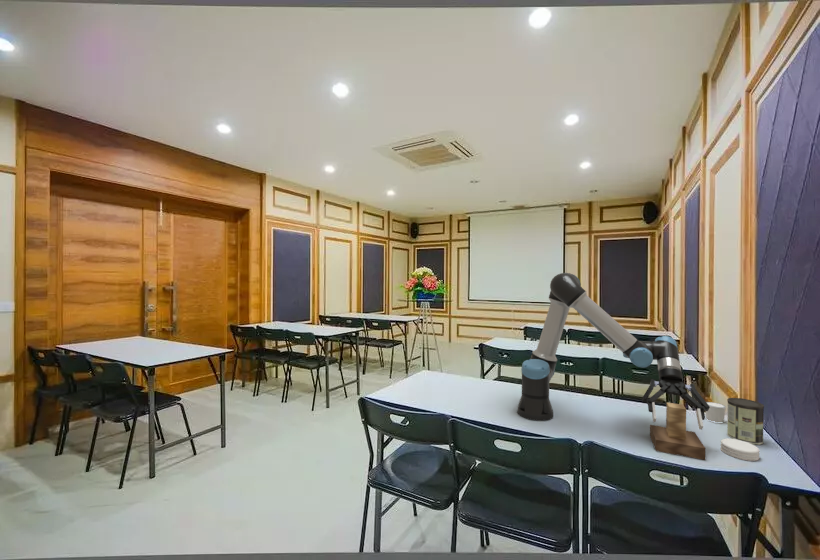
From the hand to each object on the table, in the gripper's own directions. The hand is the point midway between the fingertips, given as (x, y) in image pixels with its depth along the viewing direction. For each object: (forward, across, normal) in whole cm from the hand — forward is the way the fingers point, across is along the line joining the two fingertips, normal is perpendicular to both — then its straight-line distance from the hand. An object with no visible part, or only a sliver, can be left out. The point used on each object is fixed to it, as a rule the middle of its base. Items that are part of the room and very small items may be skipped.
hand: (677, 424), depth 128 cm
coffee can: (-9, -25, -22) cm, 35 cm away
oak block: (+2, 0, -5) cm, 6 cm away
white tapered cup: (-20, -20, -34) cm, 44 cm away
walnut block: (+5, 0, -8) cm, 9 cm away
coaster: (+2, -19, -11) cm, 22 cm away
